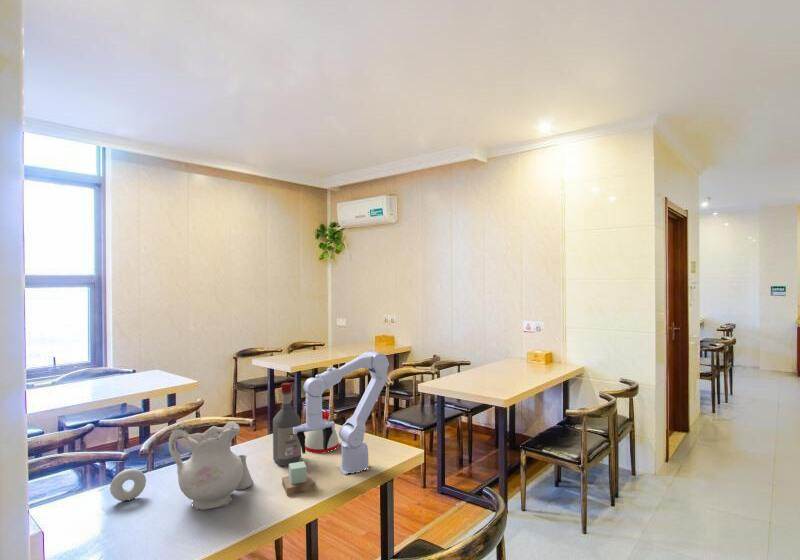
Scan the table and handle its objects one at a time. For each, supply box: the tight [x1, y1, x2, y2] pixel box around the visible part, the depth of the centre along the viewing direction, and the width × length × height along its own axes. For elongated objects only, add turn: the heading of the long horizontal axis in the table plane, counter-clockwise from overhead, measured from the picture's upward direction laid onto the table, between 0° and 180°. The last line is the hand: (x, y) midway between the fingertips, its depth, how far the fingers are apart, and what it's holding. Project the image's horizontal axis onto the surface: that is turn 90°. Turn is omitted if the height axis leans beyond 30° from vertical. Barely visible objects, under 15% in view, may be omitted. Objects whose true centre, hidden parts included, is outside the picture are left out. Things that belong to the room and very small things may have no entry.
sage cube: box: [288, 461, 308, 484], centre depth 155 cm, size 5×5×5 cm
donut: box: [109, 468, 147, 502], centre depth 147 cm, size 10×3×10 cm, turn 124°
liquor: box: [272, 382, 302, 467], centre depth 177 cm, size 9×9×30 cm
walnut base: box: [281, 472, 316, 497], centre depth 155 cm, size 9×9×3 cm
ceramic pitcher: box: [168, 420, 243, 511], centre depth 145 cm, size 22×20×25 cm
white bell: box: [305, 409, 339, 454], centre depth 192 cm, size 14×14×15 cm
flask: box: [235, 454, 254, 491], centre depth 156 cm, size 7×7×10 cm
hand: (314, 451), depth 162 cm, fingers open, 7 cm apart
